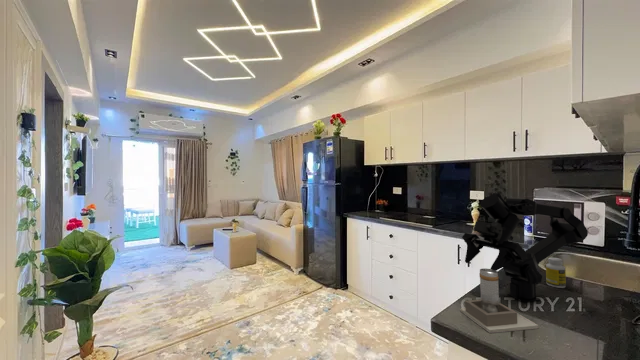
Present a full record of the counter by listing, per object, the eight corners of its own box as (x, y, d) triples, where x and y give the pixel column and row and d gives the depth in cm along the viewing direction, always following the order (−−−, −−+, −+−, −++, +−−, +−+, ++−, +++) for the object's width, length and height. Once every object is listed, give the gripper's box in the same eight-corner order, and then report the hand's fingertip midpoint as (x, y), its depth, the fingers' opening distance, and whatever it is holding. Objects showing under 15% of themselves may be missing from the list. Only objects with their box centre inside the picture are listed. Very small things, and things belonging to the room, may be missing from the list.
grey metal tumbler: (491, 312, 78) (490, 267, 78) (504, 320, 73) (502, 273, 73) (477, 313, 77) (475, 268, 78) (488, 321, 73) (487, 274, 73)
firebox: (502, 307, 82) (502, 295, 82) (538, 328, 70) (537, 313, 70) (460, 311, 81) (459, 298, 81) (489, 333, 69) (489, 318, 69)
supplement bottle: (561, 289, 94) (560, 261, 94) (543, 284, 99) (542, 258, 99) (569, 286, 96) (568, 259, 97) (551, 281, 101) (550, 256, 101)
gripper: (465, 209, 94) (440, 243, 91) (518, 215, 76) (490, 258, 73) (483, 230, 96) (460, 264, 93) (538, 240, 79) (512, 282, 75)
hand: (478, 266), depth 83 cm, fingers open, 9 cm apart
